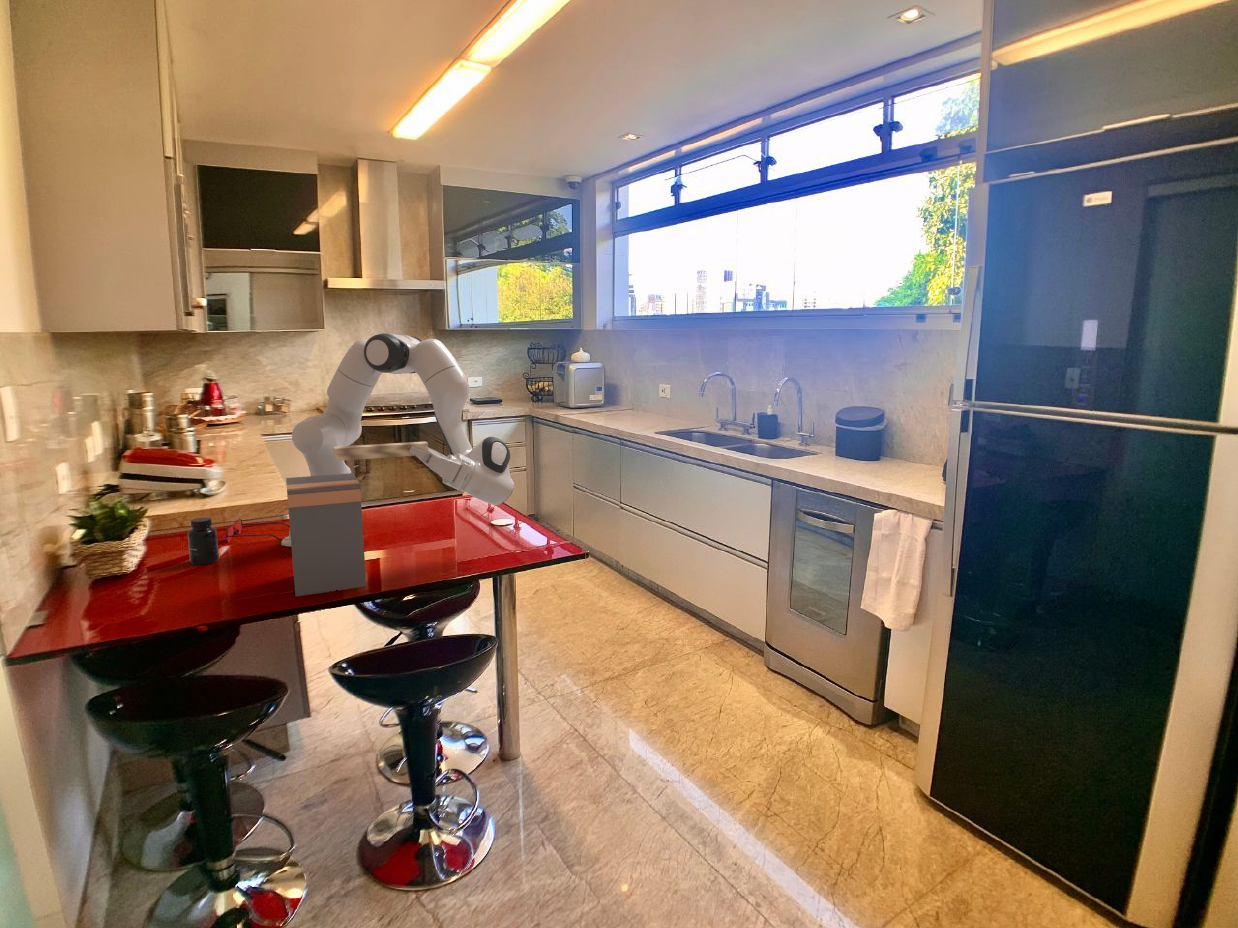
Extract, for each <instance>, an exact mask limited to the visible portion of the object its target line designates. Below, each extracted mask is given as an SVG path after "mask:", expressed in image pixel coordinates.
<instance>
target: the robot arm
mask: <svg viewBox="0 0 1238 928" xmlns="http://www.w3.org/2000/svg"><path fill="white" fill-rule="evenodd" d="M383 373H384V374H391V375H392V374H395V375H402V374H404V375H405V374H417V375H418V377H419V378H420V380H421V382H422V383H423V385H424V387H425V389H426V391H427V393H428V395H429V397H430V400H431V403H432V407H433V412H434V417H435V421H436V423H437V425H438V428H439V430H440V432H441V435H442V437H443V439H444V441H445V444H446V446H447V448H448V451H449V452H450V453H449V454H448V455H447V456H446V455H444V454H443V453H440V452H439V451H437V450H435V449H433V448H431V447H429V446H428V450H429V452H428V453H427V452H424V451H422V450H420V449H417V448H415V447H413V446H410V448H409V450H408V451H409V453H411V454H413V455H415V457H416V458H418V460H420V461H421V462H422V463H423V464H424V465H426V467H428V468H429V469H430V470H432V471H433V472H434V473H436V474H437V475H439V477H441V479H442V483H443V484H444V485H446V486H449V487H451V488H453V489H455V490H457V491H459V492H464V493H467V494H469V495H470V496H471V497H472V498H475V499H476V500H479V501H482V502H483V503H487V504H489V505H493V506H499V505H501V504H502V505H503V503H505V502H506V501H507V500H508V499H509V498H510V496H511V495H512V494H513V491H514V490H515V482H514V480H513V479H512V476H511V471H510V460H511V451H510V449H509V446H508V445H507V443H505V442H504V441H503V440H502V439H500V438H498V437H494V436H488V437H486V438H484V439H483V440H481V441H480V442H478V443H477V445H475V446H474V447H472V445H471V442H470V440H469V438H468V436H467V434H466V432H465V429H464V427H463V424H462V423H463V422H462V414H463V411H464V407H465V404H466V401H467V400H468V397H469V392H470V385H469V381H468V379H467V377H466V375H465V372H464V371H463V368H462V367H461V366H460V364H459V363H458V360H457V359H456V358H455V357H454V355H453V353H451V351H450V350H449V349H448V348H447V347H446V345H445V344H444V343H443V342H442V341H440V340H439V339H438V338H437V339H436V338H427V339H424V340H422V339H421V338H419V337H416V336H410V335H407V334H402V333H396V334H395V333H391V334H390V333H378V334H375V335H373V336H371V337H369V339H368V338H367V339H366V338H365V339H364V338H361V339H357V340H356V341H355V342H353V344H352V345H351V346H350V347H349V349H348V350H347V352H346V353H345V355H344V356H343V358H342V359H341V361H340V363H339V365H338V367H337V369H336V371H335V372H334V375H333V377H332V379H331V381H330V383H329V384H328V386H327V390H326V395H327V397H328V399H327V400H328V401H327V406H326V409H325V410H324V412H322V413H321V414H317V415H311V416H308V417H306V418H304V419H303V420H301V421H299V422H298V423H297V424H296V425H295V426H294V427H293V429H292V431H291V441H292V443H293V445H294V447H295V448H296V449H297V450H298V451H299V452H300V453H302V455H303V456H304V459H305V461H306V464H307V466H308V469H309V474H310V475H309V476H321V475H335V474H349V473H352V470H351V468H350V467H349V466H348V465H347V463H345V460H343V461H335V458H334V447H339V446H352V444H354V443H355V442H356V441H357V440H358V439H359V438H360V436H361V435H362V429H363V428H362V423H361V422H362V417H363V413H364V411H365V406H366V405H367V402H368V400H369V399H370V397H371V394H372V393H373V390H374V389H375V387H376V385H377V383H378V381H379V379H380V377H381V375H382V374H383ZM288 534H289V535H288V536H286V537H284V538H283V539H282V541H280V542H281V544H280V545H281V546H285V547H288V548H289V547H291V535H290V531H289V533H288ZM291 548H292V547H291Z"/></svg>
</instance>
